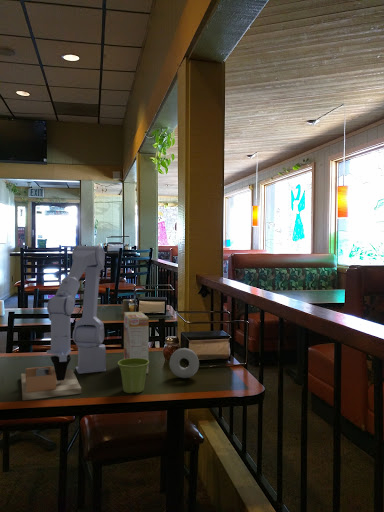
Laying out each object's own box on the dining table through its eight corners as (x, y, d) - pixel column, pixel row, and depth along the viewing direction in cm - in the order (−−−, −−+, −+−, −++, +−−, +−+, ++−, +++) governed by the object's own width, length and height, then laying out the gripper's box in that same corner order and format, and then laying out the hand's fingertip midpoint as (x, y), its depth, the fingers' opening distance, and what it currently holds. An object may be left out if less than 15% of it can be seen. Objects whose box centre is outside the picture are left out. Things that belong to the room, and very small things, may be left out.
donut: (199, 377, 139) (199, 347, 139) (198, 380, 136) (198, 349, 136) (170, 376, 140) (170, 346, 140) (168, 379, 137) (168, 348, 137)
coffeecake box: (123, 364, 155) (123, 312, 155) (141, 362, 157) (142, 311, 157) (128, 375, 141) (128, 318, 141) (148, 373, 143) (149, 317, 143)
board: (71, 373, 142) (71, 368, 142) (81, 393, 122) (81, 387, 122) (21, 378, 136) (21, 373, 136) (22, 400, 116) (22, 394, 116)
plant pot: (135, 397, 119) (135, 367, 119) (111, 391, 124) (111, 362, 124) (155, 388, 127) (155, 360, 127) (131, 383, 132) (131, 356, 132)
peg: (47, 386, 127) (48, 367, 127) (48, 390, 124) (49, 370, 124) (34, 388, 125) (35, 368, 125) (36, 392, 122) (37, 371, 122)
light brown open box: (52, 378, 131) (52, 365, 131) (56, 388, 121) (56, 375, 121) (25, 381, 128) (25, 368, 128) (26, 392, 117) (26, 378, 117)
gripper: (45, 332, 131) (44, 374, 131) (48, 341, 118) (48, 388, 118) (68, 330, 134) (68, 372, 134) (74, 339, 121) (73, 385, 121)
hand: (60, 379), depth 126 cm, fingers closed, pressing on light brown open box
